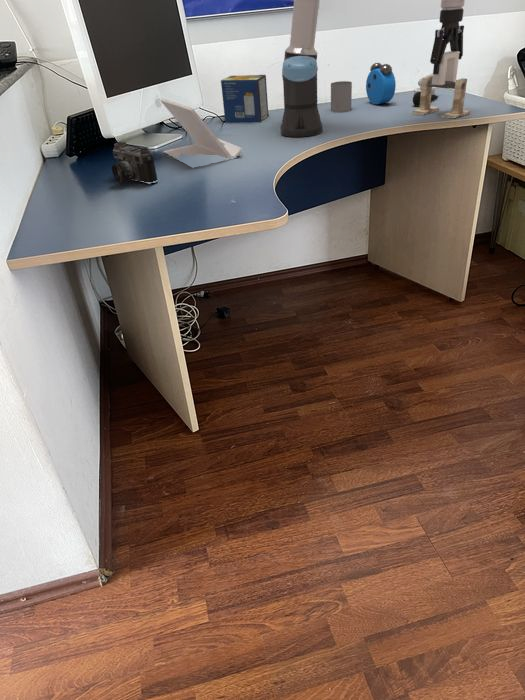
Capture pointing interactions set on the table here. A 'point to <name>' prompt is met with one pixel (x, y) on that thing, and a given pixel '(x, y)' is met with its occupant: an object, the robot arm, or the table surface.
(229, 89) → the protein box
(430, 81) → the hook stand
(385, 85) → the alarm clock
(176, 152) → the tablet stand
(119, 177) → the camera
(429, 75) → the wall hook
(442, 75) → the notched white block
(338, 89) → the cup
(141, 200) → the table surface
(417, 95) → the microphone
